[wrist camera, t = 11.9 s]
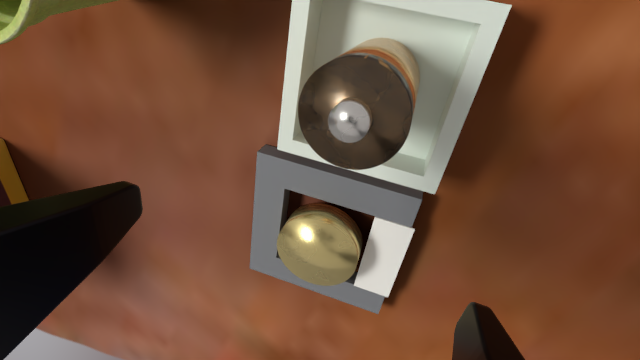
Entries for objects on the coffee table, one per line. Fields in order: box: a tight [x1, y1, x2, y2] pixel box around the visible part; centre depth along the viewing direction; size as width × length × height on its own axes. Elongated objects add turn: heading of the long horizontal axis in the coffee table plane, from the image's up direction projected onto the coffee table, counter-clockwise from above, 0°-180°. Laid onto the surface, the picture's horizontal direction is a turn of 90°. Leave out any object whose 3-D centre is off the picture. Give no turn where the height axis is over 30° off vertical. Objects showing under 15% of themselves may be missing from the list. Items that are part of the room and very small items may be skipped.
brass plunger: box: [277, 203, 363, 286], centre depth 22 cm, size 5×5×2 cm
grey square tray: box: [250, 144, 423, 314], centre depth 23 cm, size 10×10×1 cm
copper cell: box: [298, 38, 420, 170], centre depth 14 cm, size 4×4×7 cm
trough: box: [277, 0, 512, 194], centre depth 16 cm, size 9×9×2 cm
